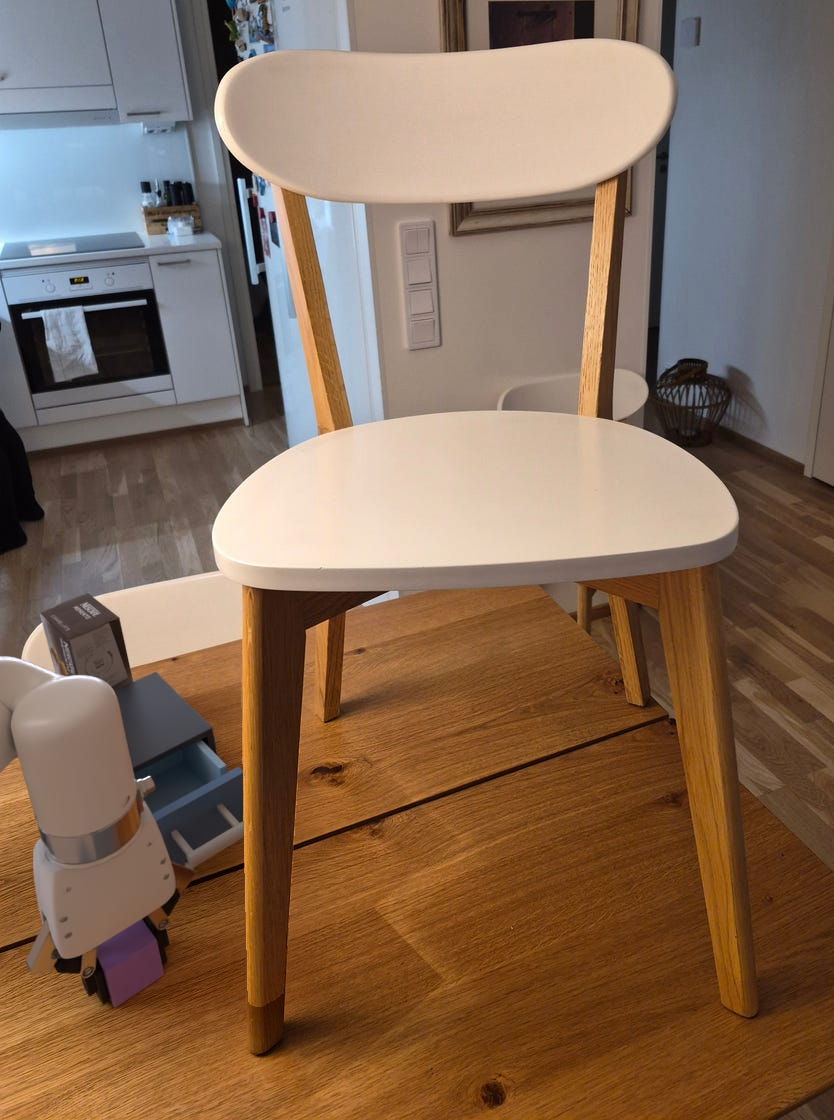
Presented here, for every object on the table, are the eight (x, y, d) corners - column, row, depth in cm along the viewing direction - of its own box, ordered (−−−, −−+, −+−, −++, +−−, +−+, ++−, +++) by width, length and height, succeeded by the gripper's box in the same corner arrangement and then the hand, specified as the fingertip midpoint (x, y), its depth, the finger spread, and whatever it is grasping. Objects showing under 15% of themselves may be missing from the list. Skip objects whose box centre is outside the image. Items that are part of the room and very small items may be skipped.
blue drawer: (277, 848, 89) (269, 798, 86) (173, 914, 82) (161, 861, 79) (194, 759, 101) (185, 712, 98) (97, 809, 94) (85, 761, 91)
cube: (115, 1008, 74) (105, 972, 72) (95, 973, 77) (85, 938, 75) (164, 975, 77) (157, 940, 75) (143, 942, 80) (135, 908, 78)
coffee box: (145, 725, 108) (122, 617, 102) (95, 751, 104) (68, 640, 98) (112, 695, 114) (88, 591, 108) (63, 718, 110) (36, 611, 103)
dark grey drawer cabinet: (222, 787, 98) (212, 727, 95) (114, 847, 90) (98, 784, 87) (167, 727, 108) (155, 671, 104) (64, 777, 100) (48, 718, 97)
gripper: (170, 747, 77) (197, 893, 84) (-37, 850, 67) (15, 1006, 74) (209, 791, 72) (235, 941, 79) (-7, 909, 62) (45, 1071, 69)
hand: (129, 971), depth 77 cm, fingers closed on cube, 4 cm apart
